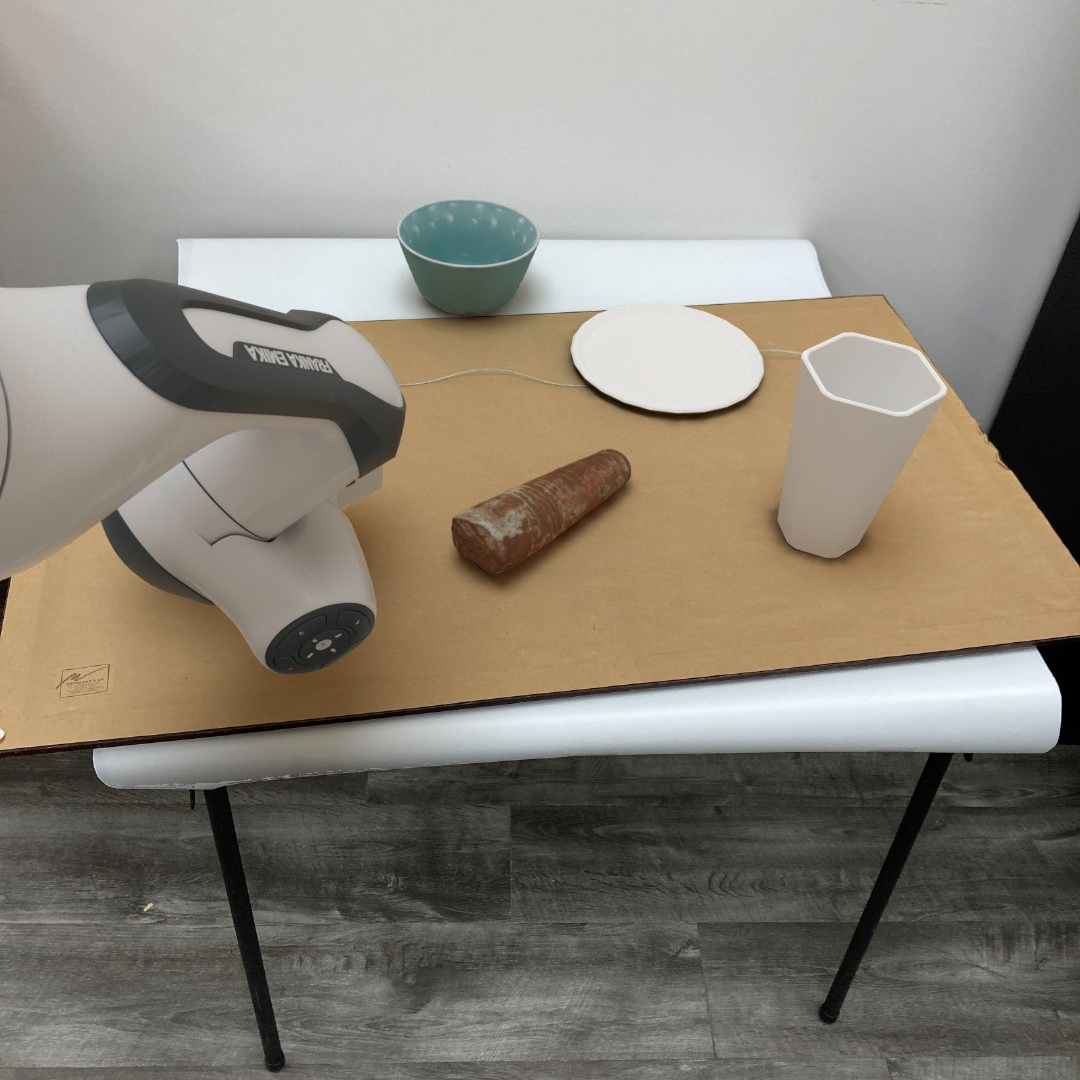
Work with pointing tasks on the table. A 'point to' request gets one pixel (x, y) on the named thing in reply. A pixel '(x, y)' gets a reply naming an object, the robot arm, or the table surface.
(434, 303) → the bowl
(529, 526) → the brown rounded cylinder
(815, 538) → the cup
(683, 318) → the plate
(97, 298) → the robot arm
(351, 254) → the table surface
